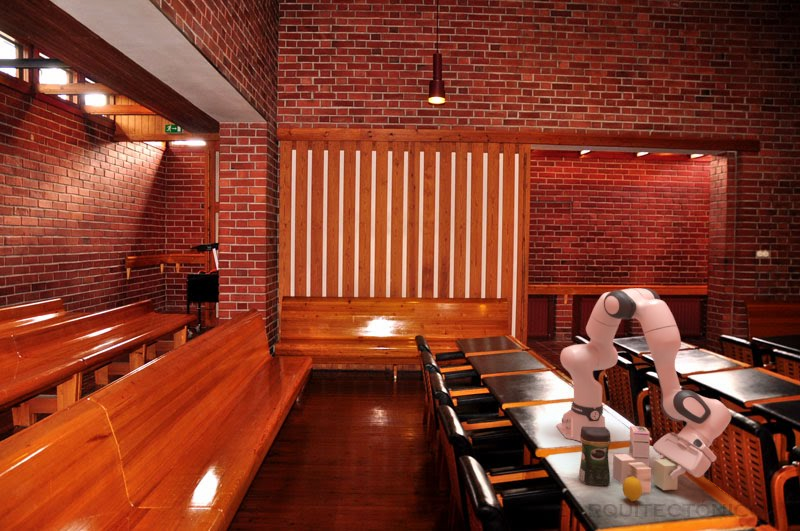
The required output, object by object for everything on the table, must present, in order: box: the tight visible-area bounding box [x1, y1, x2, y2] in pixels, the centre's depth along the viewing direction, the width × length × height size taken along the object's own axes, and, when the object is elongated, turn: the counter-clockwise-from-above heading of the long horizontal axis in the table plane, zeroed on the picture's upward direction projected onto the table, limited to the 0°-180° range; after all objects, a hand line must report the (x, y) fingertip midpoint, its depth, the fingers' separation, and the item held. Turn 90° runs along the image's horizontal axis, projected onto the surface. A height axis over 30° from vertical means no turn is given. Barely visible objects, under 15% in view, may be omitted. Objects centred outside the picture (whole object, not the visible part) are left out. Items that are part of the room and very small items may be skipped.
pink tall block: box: [628, 462, 652, 494], centre depth 175 cm, size 5×5×8 cm
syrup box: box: [628, 425, 651, 467], centre depth 191 cm, size 6×6×14 cm
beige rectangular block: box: [653, 458, 679, 491], centre depth 175 cm, size 5×5×8 cm
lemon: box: [622, 476, 643, 502], centre depth 167 cm, size 6×6×8 cm
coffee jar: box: [578, 426, 611, 486], centre depth 180 cm, size 10×8×19 cm
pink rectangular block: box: [612, 453, 636, 485], centre depth 182 cm, size 5×5×8 cm
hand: (664, 472), depth 175 cm, fingers closed on beige rectangular block, 5 cm apart
